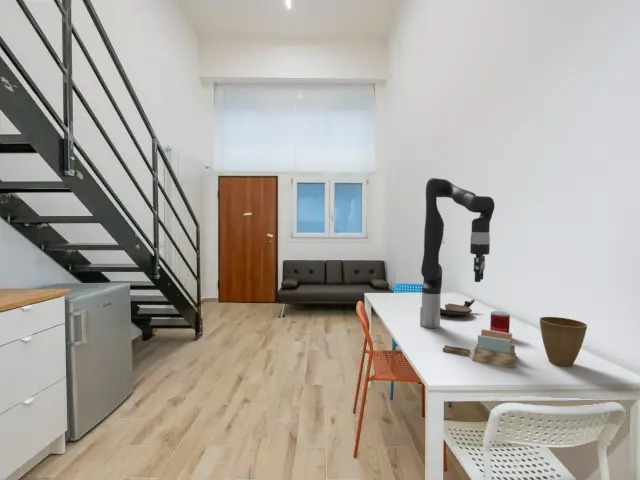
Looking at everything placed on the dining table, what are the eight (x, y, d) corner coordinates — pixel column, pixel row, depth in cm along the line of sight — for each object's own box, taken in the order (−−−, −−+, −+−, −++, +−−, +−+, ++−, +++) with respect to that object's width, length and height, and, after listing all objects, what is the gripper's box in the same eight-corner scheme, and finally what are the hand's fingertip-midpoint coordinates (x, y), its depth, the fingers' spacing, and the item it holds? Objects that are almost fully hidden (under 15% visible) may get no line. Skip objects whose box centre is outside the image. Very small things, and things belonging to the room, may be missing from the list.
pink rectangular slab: (480, 349, 147) (481, 330, 147) (481, 348, 148) (481, 329, 148) (511, 354, 141) (511, 334, 141) (511, 353, 143) (512, 333, 142)
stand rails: (442, 351, 148) (442, 347, 148) (444, 348, 152) (445, 345, 151) (468, 356, 143) (468, 352, 143) (470, 352, 146) (470, 349, 146)
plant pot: (568, 373, 126) (570, 328, 126) (529, 359, 140) (530, 318, 140) (594, 367, 132) (596, 324, 132) (554, 354, 146) (555, 314, 145)
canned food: (511, 339, 165) (512, 315, 165) (492, 338, 167) (493, 314, 166) (506, 334, 172) (506, 311, 172) (488, 333, 174) (488, 310, 174)
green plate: (477, 356, 139) (477, 336, 138) (477, 355, 140) (478, 334, 140) (509, 362, 133) (510, 341, 133) (509, 360, 135) (510, 339, 134)
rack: (472, 360, 138) (472, 349, 138) (478, 349, 151) (478, 338, 151) (513, 368, 131) (514, 356, 131) (516, 355, 144) (516, 344, 143)
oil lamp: (423, 310, 221) (423, 298, 221) (470, 310, 224) (470, 297, 223) (438, 320, 199) (438, 306, 198) (490, 319, 201) (490, 305, 201)
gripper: (473, 242, 162) (472, 278, 163) (467, 243, 150) (466, 282, 151) (491, 242, 158) (490, 279, 159) (487, 243, 146) (486, 283, 147)
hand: (478, 280), depth 155 cm, fingers open, 8 cm apart
